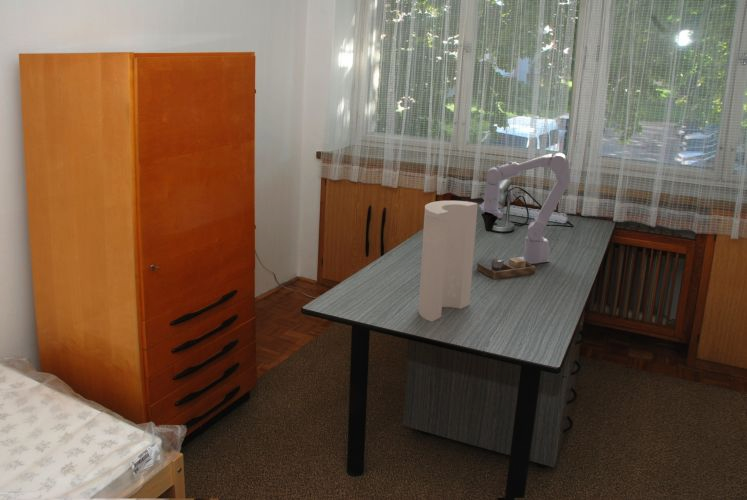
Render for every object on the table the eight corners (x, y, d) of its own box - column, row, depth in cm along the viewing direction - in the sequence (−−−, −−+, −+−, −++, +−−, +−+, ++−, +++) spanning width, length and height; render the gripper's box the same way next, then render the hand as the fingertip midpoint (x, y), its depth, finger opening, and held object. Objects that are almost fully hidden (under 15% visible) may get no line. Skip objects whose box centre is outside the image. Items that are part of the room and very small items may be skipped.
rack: (516, 264, 290) (517, 258, 290) (534, 273, 281) (535, 266, 280) (476, 269, 282) (477, 263, 282) (494, 278, 273) (494, 272, 272)
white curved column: (471, 305, 246) (433, 322, 231) (444, 296, 253) (405, 312, 238) (479, 203, 235) (440, 214, 220) (451, 197, 243) (411, 207, 227)
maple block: (517, 268, 286) (518, 257, 284) (524, 272, 282) (525, 260, 281) (508, 269, 284) (509, 258, 282) (515, 273, 280) (516, 262, 279)
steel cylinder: (497, 270, 282) (499, 258, 281) (504, 274, 278) (505, 261, 277) (488, 271, 280) (489, 259, 279) (495, 275, 277) (496, 262, 275)
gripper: (472, 194, 297) (470, 227, 301) (494, 203, 285) (490, 236, 289) (487, 193, 300) (484, 225, 304) (508, 201, 288) (505, 235, 292)
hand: (488, 230), depth 297 cm, fingers closed
